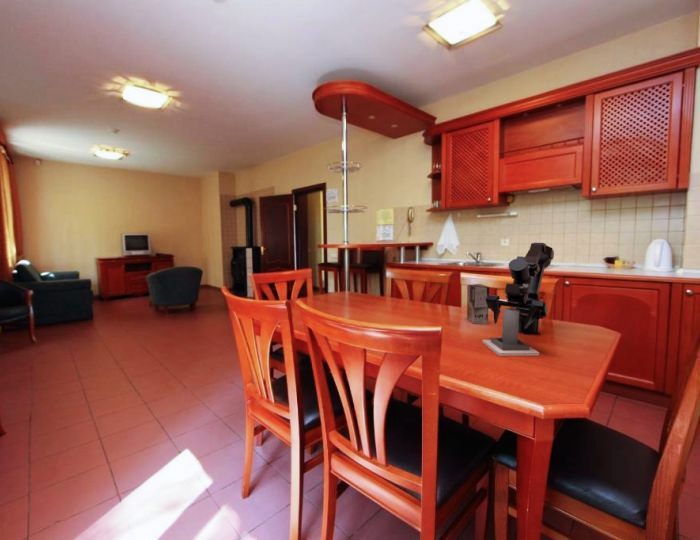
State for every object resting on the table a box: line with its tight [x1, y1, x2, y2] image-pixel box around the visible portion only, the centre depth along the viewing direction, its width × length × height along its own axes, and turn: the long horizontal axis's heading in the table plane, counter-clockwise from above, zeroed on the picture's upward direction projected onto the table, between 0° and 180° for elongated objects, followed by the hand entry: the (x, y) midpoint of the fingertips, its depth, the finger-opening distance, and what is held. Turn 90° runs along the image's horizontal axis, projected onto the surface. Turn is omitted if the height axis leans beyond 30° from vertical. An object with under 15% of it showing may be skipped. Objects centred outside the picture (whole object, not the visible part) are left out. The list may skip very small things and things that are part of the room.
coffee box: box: [466, 283, 491, 325], centre depth 146 cm, size 9×6×16 cm
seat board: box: [481, 336, 540, 357], centre depth 112 cm, size 13×13×2 cm
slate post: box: [501, 307, 519, 345], centre depth 112 cm, size 5×5×12 cm
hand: (509, 325), depth 110 cm, fingers open, 9 cm apart
